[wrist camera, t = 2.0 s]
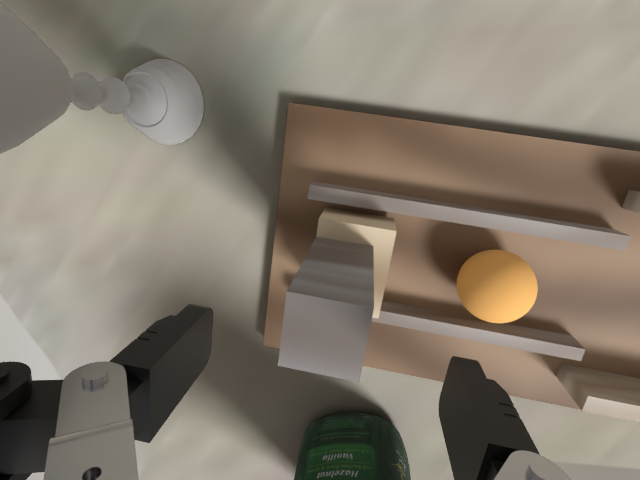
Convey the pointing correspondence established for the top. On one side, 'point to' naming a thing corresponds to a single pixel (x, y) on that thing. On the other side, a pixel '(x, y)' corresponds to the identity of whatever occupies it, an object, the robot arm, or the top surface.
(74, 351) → the top surface
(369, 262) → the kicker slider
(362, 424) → the coffee jar
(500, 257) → the ball
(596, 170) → the board
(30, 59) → the chalice
